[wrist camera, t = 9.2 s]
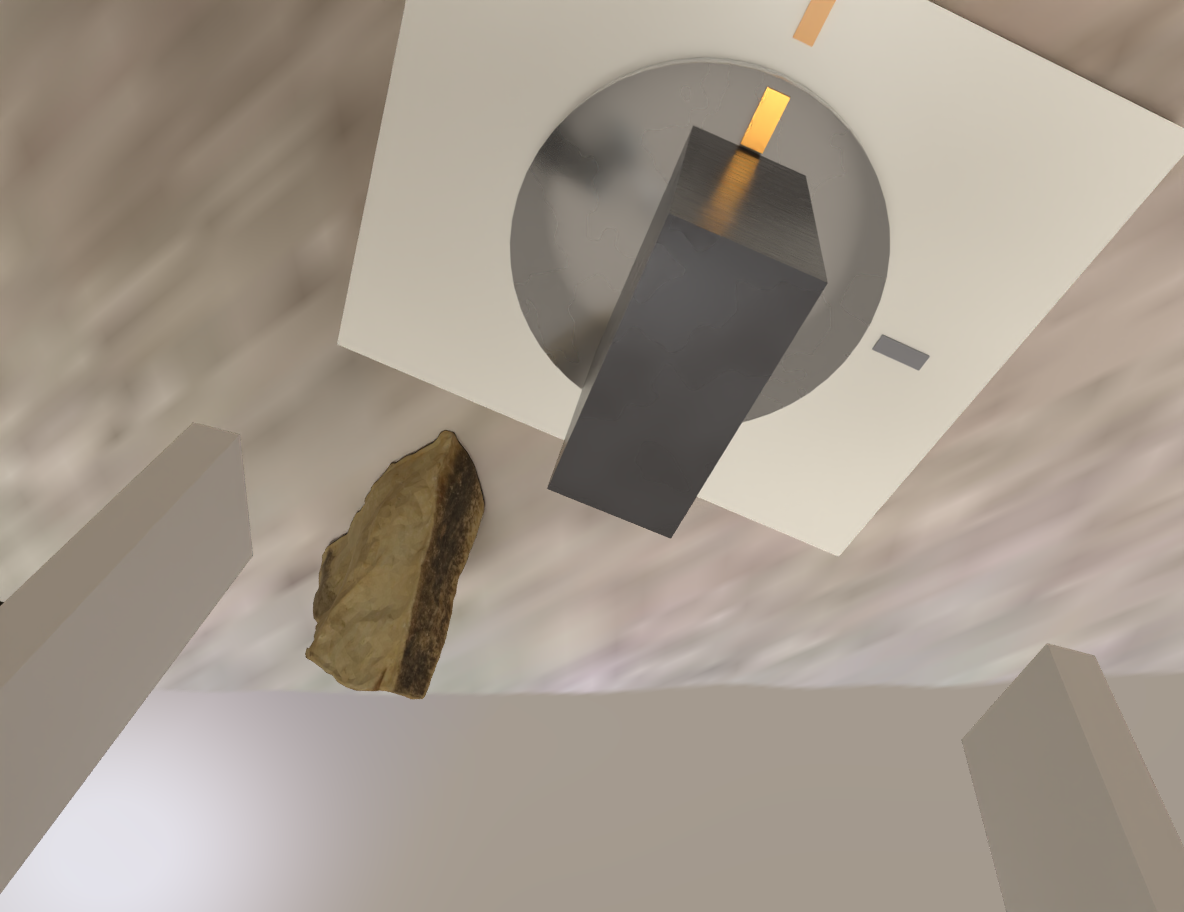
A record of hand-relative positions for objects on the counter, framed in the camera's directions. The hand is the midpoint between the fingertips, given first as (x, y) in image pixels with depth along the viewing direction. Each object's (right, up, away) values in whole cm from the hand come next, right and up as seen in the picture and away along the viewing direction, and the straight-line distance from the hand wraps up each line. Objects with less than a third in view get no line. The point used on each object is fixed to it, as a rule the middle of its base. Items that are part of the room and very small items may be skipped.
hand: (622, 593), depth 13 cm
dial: (+3, +9, +13) cm, 16 cm away
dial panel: (+3, +10, +14) cm, 17 cm away
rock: (-10, 0, +24) cm, 26 cm away
